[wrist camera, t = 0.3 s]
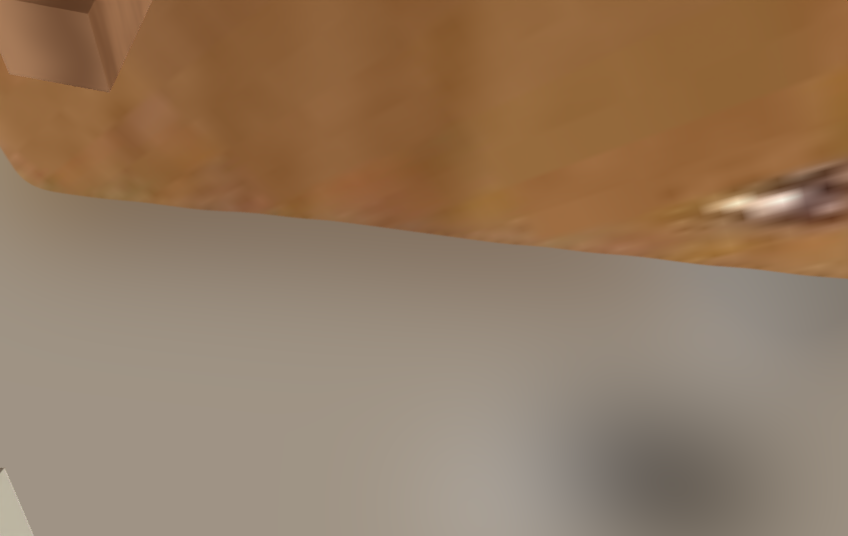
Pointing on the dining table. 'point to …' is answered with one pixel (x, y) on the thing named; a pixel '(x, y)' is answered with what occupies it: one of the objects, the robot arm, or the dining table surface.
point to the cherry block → (69, 39)
